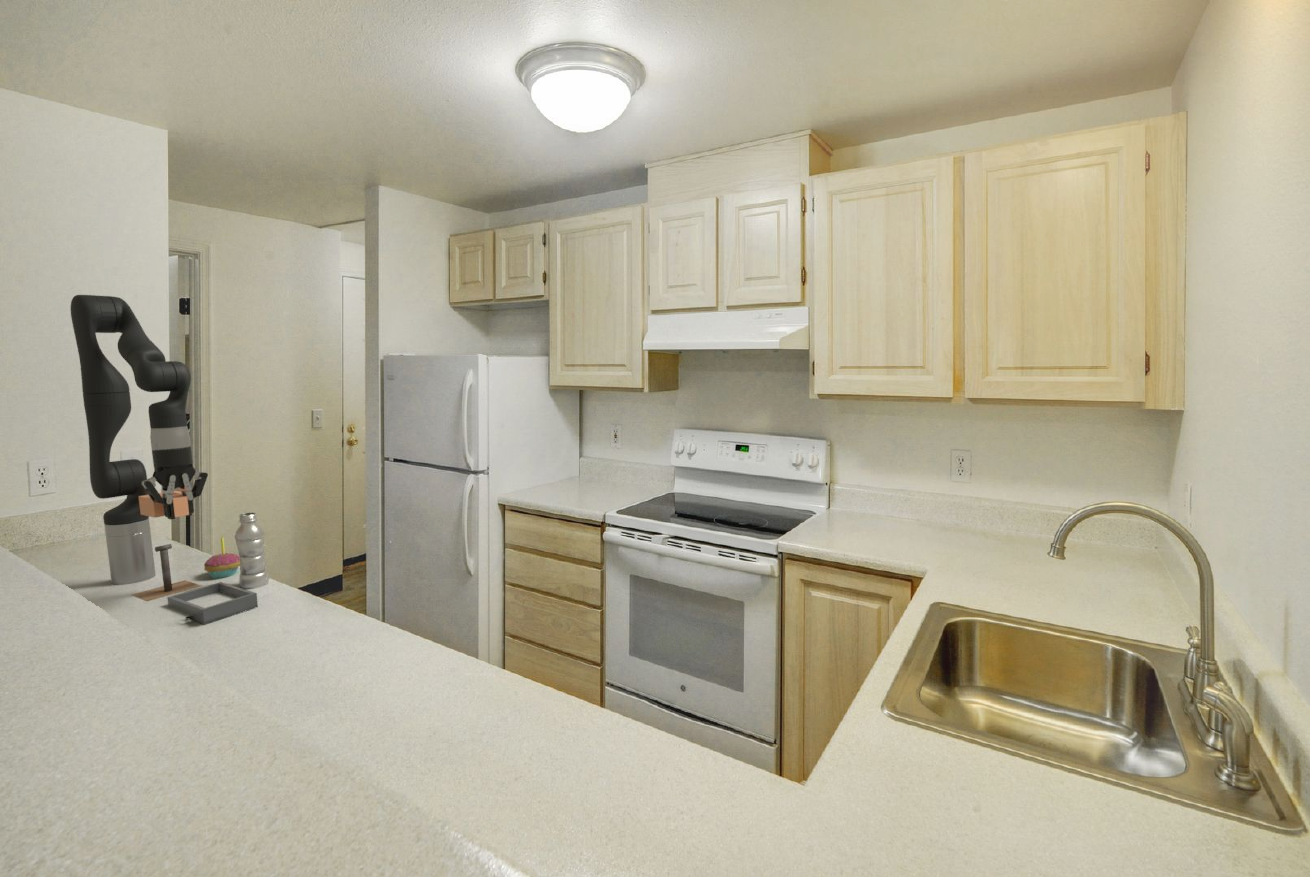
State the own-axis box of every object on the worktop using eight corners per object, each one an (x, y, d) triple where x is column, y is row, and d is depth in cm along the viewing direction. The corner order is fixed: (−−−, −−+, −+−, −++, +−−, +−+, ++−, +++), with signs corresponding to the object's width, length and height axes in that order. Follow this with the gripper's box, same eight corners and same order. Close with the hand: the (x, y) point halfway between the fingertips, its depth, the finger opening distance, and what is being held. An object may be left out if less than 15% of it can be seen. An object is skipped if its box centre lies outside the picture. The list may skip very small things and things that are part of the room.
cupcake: (209, 577, 178) (205, 534, 177) (245, 572, 182) (241, 530, 181) (203, 587, 171) (198, 542, 169) (241, 582, 174) (236, 538, 173)
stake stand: (131, 600, 162) (125, 549, 160) (185, 585, 172) (180, 537, 170) (148, 607, 157) (141, 554, 156) (202, 591, 168) (197, 541, 166)
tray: (169, 611, 155) (167, 597, 154) (222, 595, 164) (220, 582, 164) (204, 624, 146) (202, 609, 146) (257, 607, 156) (256, 593, 156)
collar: (140, 514, 159) (138, 496, 159) (175, 508, 165) (173, 490, 165) (164, 519, 153) (161, 500, 152) (199, 512, 159) (197, 494, 159)
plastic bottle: (246, 596, 163) (239, 518, 161) (235, 591, 167) (228, 515, 165) (274, 589, 168) (267, 513, 166) (262, 583, 173) (255, 509, 170)
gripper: (196, 441, 163) (203, 509, 165) (128, 449, 151) (138, 522, 153) (211, 443, 159) (219, 512, 161) (143, 450, 147) (153, 525, 149)
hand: (179, 516), depth 157 cm, fingers closed on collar, 3 cm apart
